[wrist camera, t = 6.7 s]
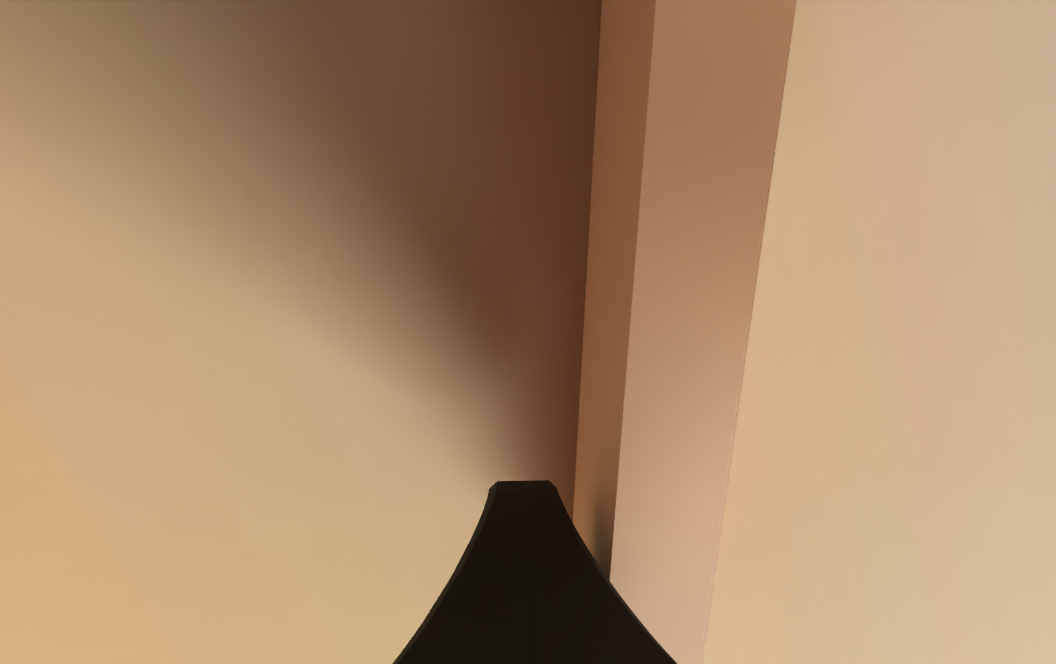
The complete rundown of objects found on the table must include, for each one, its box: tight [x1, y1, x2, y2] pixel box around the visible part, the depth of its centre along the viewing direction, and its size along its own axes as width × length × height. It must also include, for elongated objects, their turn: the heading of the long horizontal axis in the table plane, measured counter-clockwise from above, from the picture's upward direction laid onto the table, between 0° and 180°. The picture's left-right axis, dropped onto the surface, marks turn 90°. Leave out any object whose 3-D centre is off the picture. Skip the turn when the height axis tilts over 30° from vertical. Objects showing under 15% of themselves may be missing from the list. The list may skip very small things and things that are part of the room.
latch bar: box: [573, 0, 796, 664], centre depth 9 cm, size 16×2×4 cm, turn 178°
